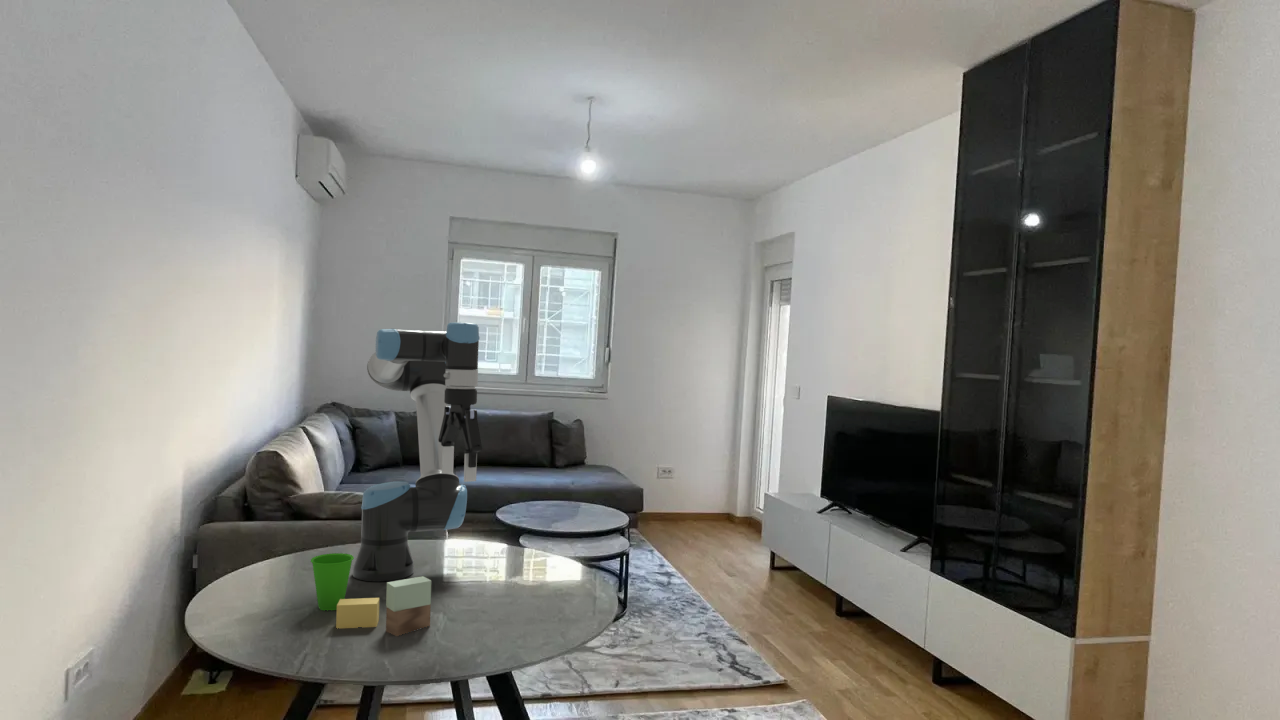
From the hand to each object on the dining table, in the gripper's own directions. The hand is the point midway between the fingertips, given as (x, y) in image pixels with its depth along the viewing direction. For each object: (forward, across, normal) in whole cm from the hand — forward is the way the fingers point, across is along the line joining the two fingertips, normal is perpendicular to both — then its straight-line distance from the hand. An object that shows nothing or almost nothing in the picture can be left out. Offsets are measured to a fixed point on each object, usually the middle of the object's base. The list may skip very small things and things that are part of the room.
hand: (458, 477), depth 179 cm
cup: (+29, -8, -26) cm, 40 cm away
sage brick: (+24, +14, -16) cm, 32 cm away
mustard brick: (+29, +6, -24) cm, 38 cm away
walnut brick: (+29, +14, -16) cm, 36 cm away
